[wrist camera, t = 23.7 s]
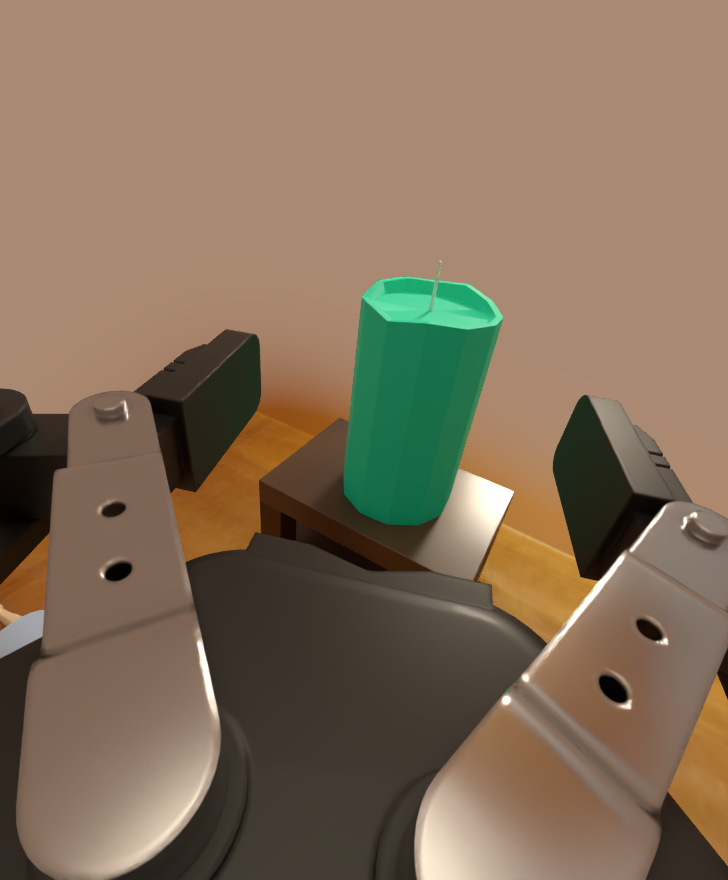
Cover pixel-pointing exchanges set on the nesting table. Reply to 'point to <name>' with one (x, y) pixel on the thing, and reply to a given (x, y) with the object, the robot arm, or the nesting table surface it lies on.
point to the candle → (415, 394)
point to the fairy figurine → (19, 630)
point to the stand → (368, 540)
